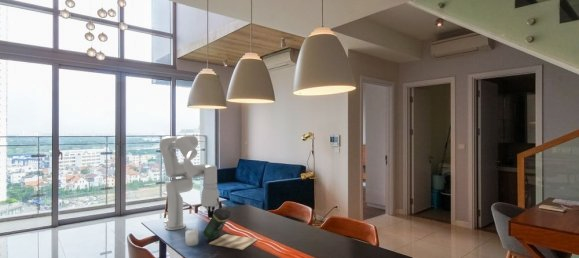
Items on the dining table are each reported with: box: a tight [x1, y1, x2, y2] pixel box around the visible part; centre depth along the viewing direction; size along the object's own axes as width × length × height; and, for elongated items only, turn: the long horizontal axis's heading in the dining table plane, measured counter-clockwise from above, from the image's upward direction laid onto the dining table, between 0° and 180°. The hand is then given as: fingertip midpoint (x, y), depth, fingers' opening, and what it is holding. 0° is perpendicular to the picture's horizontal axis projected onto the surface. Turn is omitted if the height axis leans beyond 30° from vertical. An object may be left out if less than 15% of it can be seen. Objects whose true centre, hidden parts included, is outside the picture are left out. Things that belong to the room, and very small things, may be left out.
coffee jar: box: [202, 207, 231, 241], centre depth 179 cm, size 10×8×19 cm
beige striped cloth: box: [208, 233, 258, 251], centre depth 175 cm, size 22×16×1 cm
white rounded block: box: [184, 228, 199, 247], centre depth 173 cm, size 7×7×7 cm
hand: (210, 217), depth 182 cm, fingers closed
